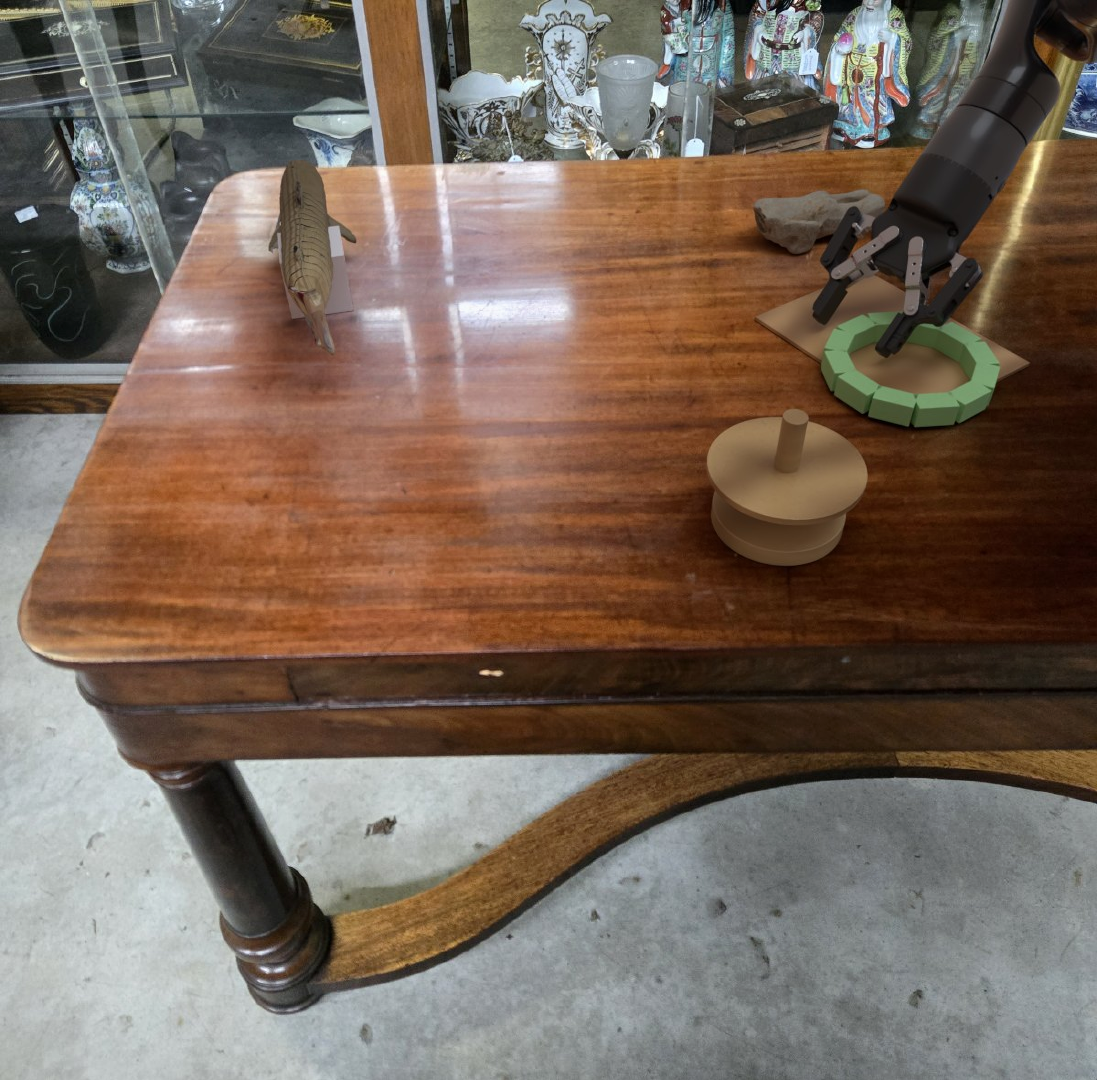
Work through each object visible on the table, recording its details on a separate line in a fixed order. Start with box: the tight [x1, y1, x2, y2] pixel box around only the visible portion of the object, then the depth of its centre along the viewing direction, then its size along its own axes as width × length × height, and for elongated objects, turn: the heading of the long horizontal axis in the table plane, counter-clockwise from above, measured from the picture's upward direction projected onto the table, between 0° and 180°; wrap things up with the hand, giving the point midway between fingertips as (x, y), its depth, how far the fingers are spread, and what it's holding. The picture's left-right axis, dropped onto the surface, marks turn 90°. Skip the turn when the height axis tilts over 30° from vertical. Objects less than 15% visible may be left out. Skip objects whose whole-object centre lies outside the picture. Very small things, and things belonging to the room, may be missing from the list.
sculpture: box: [752, 188, 886, 255], centre depth 110 cm, size 7×5×15 cm
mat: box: [754, 274, 1031, 425], centre depth 97 cm, size 20×15×1 cm
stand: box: [705, 408, 869, 567], centre depth 76 cm, size 12×12×10 cm
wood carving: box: [268, 159, 357, 356], centre depth 98 cm, size 9×35×11 cm, turn 13°
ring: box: [820, 311, 1000, 428], centre depth 92 cm, size 15×15×2 cm
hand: (849, 336), depth 95 cm, fingers open, 6 cm apart
